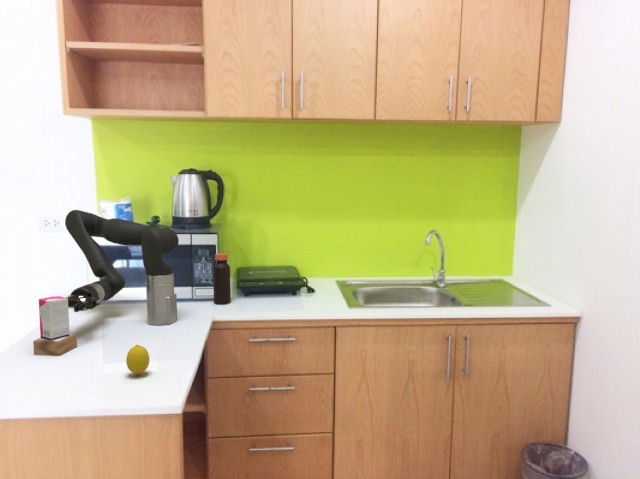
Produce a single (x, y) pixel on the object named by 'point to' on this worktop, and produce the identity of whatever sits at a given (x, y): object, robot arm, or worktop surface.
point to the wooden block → (55, 345)
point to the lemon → (137, 359)
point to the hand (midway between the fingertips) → (61, 308)
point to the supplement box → (54, 317)
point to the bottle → (221, 280)
